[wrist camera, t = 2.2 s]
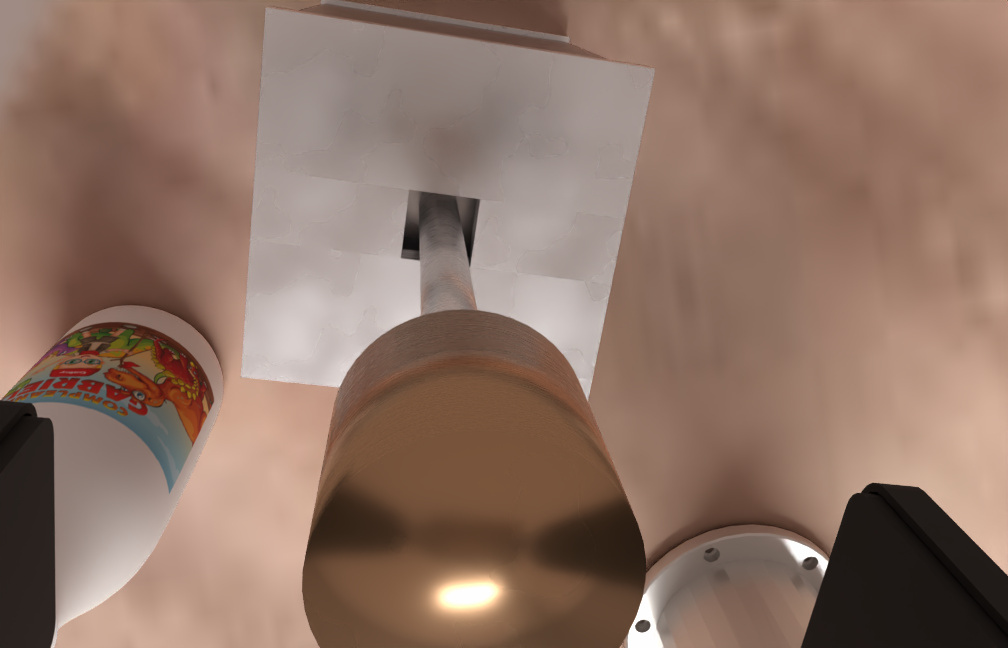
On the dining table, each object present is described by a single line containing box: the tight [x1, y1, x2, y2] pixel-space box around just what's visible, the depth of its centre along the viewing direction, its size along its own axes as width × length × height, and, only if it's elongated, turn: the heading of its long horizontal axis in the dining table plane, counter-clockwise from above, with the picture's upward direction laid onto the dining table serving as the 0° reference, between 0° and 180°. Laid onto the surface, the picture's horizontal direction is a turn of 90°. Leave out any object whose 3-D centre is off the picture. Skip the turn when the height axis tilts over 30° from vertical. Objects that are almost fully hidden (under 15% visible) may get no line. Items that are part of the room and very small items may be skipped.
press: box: [241, 0, 655, 401], centre depth 34 cm, size 10×13×16 cm
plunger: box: [302, 190, 646, 648], centre depth 20 cm, size 8×8×20 cm
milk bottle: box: [1, 305, 224, 648], centre depth 35 cm, size 8×8×20 cm
